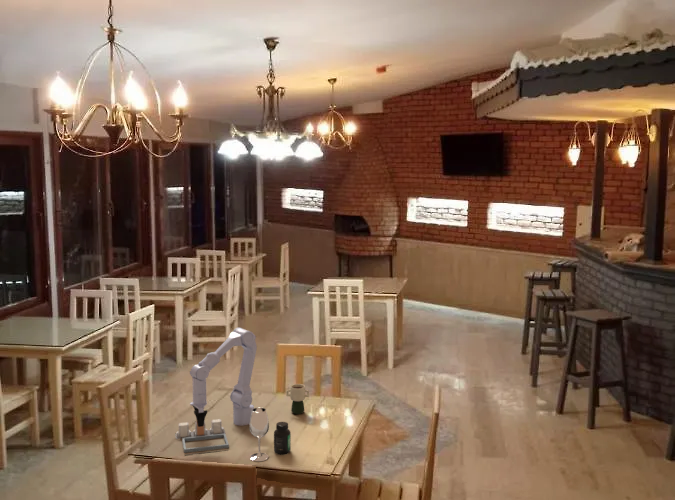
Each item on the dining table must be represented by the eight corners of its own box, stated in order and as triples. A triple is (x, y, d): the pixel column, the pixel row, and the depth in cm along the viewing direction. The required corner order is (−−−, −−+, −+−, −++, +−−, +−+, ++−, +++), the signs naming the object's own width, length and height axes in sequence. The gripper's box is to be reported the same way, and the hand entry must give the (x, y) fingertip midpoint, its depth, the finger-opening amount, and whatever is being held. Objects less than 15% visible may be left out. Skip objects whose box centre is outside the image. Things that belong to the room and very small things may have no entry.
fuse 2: (220, 429, 296) (220, 419, 295) (221, 432, 293) (221, 421, 292) (211, 430, 295) (211, 419, 294) (212, 433, 292) (212, 422, 291)
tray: (225, 439, 289) (225, 433, 289) (228, 450, 277) (228, 444, 277) (182, 443, 284) (182, 438, 284) (184, 455, 272) (184, 449, 272)
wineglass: (260, 463, 266) (260, 414, 263) (245, 458, 270) (245, 410, 267) (273, 456, 272) (272, 408, 270) (257, 451, 276) (257, 405, 274)
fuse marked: (204, 431, 294) (204, 420, 293) (205, 434, 291) (205, 423, 290) (195, 432, 293) (195, 421, 292) (195, 435, 290) (195, 424, 289)
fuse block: (223, 431, 298) (223, 424, 297) (225, 436, 292) (225, 430, 292) (175, 436, 292) (175, 429, 291) (175, 441, 286) (175, 435, 286)
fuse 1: (188, 433, 292) (188, 422, 291) (188, 436, 289) (188, 425, 288) (178, 434, 291) (178, 423, 290) (179, 437, 288) (179, 425, 287)
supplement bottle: (293, 452, 276) (293, 424, 274) (278, 456, 272) (278, 428, 270) (285, 446, 281) (285, 419, 280) (271, 450, 278) (270, 422, 276)
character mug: (309, 410, 323) (309, 384, 322) (308, 415, 316) (308, 389, 315) (287, 409, 324) (287, 383, 322) (285, 415, 317) (285, 388, 315)
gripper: (188, 388, 295) (189, 417, 297) (191, 399, 281) (191, 430, 283) (205, 386, 297) (205, 416, 299) (208, 397, 283) (208, 428, 285)
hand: (199, 422), depth 291 cm, fingers open, 7 cm apart
